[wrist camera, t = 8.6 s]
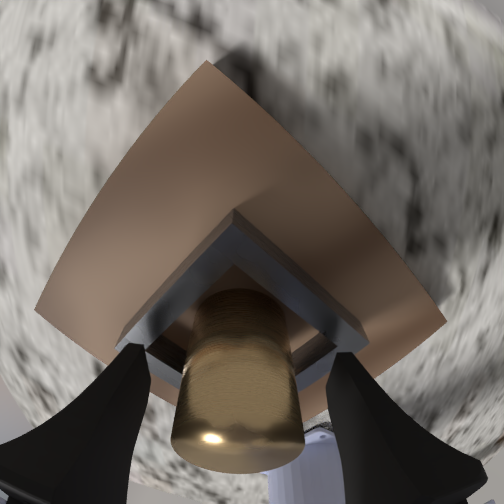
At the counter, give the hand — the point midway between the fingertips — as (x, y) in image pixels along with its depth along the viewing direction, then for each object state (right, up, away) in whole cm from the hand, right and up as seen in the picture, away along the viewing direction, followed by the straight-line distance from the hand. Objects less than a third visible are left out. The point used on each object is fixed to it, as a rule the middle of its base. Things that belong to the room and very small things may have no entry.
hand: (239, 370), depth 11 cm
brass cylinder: (0, +1, +2) cm, 3 cm away
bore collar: (0, +1, +2) cm, 2 cm away
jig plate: (0, +2, +4) cm, 4 cm away
